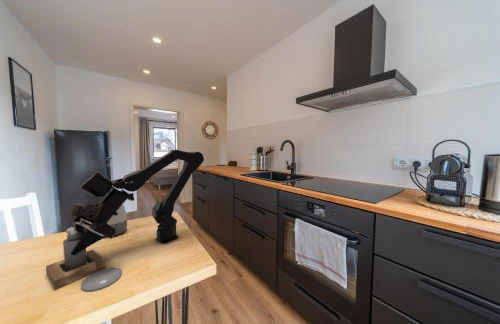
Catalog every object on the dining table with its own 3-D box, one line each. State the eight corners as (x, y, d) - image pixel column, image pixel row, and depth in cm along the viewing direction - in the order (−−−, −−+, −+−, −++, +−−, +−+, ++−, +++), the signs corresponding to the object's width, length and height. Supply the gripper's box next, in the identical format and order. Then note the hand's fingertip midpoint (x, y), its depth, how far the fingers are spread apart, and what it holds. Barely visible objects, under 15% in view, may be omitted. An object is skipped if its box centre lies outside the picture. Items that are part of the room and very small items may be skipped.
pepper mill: (84, 264, 59) (81, 225, 59) (89, 269, 57) (86, 229, 56) (63, 272, 56) (60, 231, 55) (68, 278, 53) (64, 235, 52)
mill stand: (93, 256, 64) (92, 249, 64) (105, 267, 58) (105, 260, 57) (46, 274, 55) (45, 266, 55) (55, 290, 49) (54, 280, 48)
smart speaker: (132, 229, 85) (131, 199, 84) (113, 239, 76) (111, 205, 75) (116, 227, 87) (114, 198, 86) (95, 236, 78) (93, 204, 77)
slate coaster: (114, 265, 59) (114, 263, 59) (127, 276, 54) (127, 274, 54) (76, 282, 51) (76, 280, 51) (87, 297, 46) (87, 294, 46)
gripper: (76, 189, 63) (29, 233, 54) (101, 195, 53) (49, 251, 44) (105, 205, 70) (67, 247, 61) (132, 214, 61) (92, 265, 52)
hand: (69, 252), depth 54 cm, fingers closed on pepper mill, 5 cm apart
